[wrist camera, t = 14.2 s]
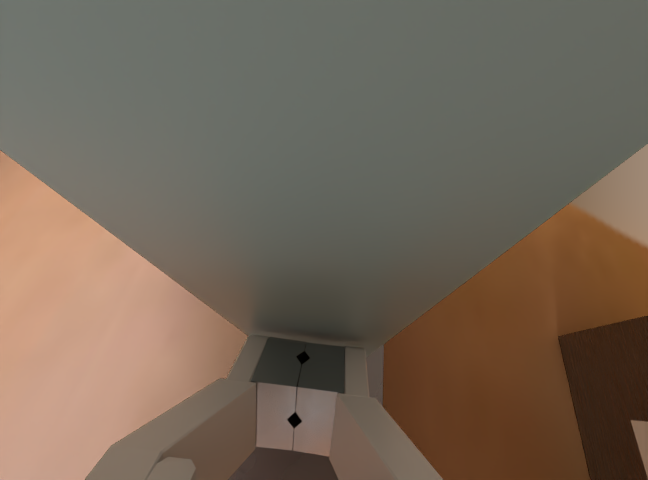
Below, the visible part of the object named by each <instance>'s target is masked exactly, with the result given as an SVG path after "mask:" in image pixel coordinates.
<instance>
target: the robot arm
mask: <svg viewBox="0 0 648 480" xmlns="http://www.w3.org/2000/svg"><path fill="white" fill-rule="evenodd" d="M255 447H264V448H274V449H283V450H292V448H293V451H298V452H304V453H310V454H316V455H322V456H328V457H329V459H330V462H331V464H332V466H333V468H334V471H335V473H336V475H337V477H338V480H443V479H442V477H441V476H440V475H439V474H438V473H437V471H436V470H435V469H434V468H433V467H432V465H431V464H430V463H429V462H428V461H427V459H426V458H425V457H424V456H423V455H422V453H421V452H420V451H419V450H418V448H417V447H416V446H415V445H414V444H413V442H412V441H411V440H410V439H409V438H408V436H407V435H406V434H405V433H404V432H403V430H402V429H401V428H400V427H399V426H398V424H397V423H396V422H395V421H394V420H393V418H392V417H391V416H390V415H389V414H388V412H387V411H386V410H385V409H384V408H383V406H382V405H381V404H380V403H379V402H378V400H377V399H376V398H371V397H369V386H368V375H367V363H366V352H365V349H364V348H363V347H352V346H345V347H344V346H335V345H327V344H318V343H309V342H304V341H297V340H290V339H283V338H276V337H268V336H260V335H253V334H251V335H250V336H248V337H247V339H246V341H245V343H244V345H243V347H242V349H241V351H240V353H239V355H238V356H237V358H236V360H235V362H234V364H233V366H232V368H231V370H230V372H229V374H228V376H227V378H226V379H221V378H220V379H218V380H216V381H215V382H213V383H211V384H210V385H208V386H207V387H205V388H203V389H202V390H200V391H199V392H197V393H195V394H194V395H192V396H190V397H189V398H187V399H186V400H184V401H182V402H181V403H179V404H178V405H176V406H174V407H173V408H171V409H170V410H168V411H166V412H165V413H163V414H161V415H160V416H158V417H157V418H155V419H153V420H152V421H150V422H149V423H147V424H145V425H144V426H142V427H140V428H139V429H137V430H136V431H134V432H132V433H131V434H129V435H128V436H126V437H124V438H123V439H121V440H120V441H118V442H116V443H115V444H113V445H111V446H110V448H109V449H108V450H107V452H106V453H105V454H104V455H103V457H102V458H101V459H100V461H99V462H98V463H97V464H96V466H95V467H94V468H93V469H92V471H91V472H90V473H89V475H88V476H87V477H86V478H85V480H228V479H229V477H230V476H231V475H232V474H233V473H234V472H235V471H236V470H237V469H238V468H239V466H240V465H241V464H242V463H243V462H244V461H245V460H246V459H247V458H248V457H249V455H250V454H251V453H252V452H253V451H254V450H255Z"/></svg>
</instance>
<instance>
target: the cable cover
mask: <svg viewBox="0 0 648 480" xmlns="http://www.w3.org/2000/svg"><path fill="white" fill-rule="evenodd" d="M646 144H648V0H0V150H1V151H2V152H4V153H5V154H6V155H8V156H9V157H10V158H12V159H13V160H14V161H16V162H17V163H18V164H20V165H21V166H22V167H24V168H25V169H26V170H28V171H29V172H30V173H32V174H33V175H34V176H36V177H37V178H38V179H40V180H41V181H42V182H44V183H45V184H46V185H48V186H49V187H50V188H52V189H53V190H54V191H56V192H57V193H58V194H60V195H61V196H62V197H64V198H65V199H66V200H68V201H69V202H70V203H72V204H73V205H74V206H76V207H77V208H78V209H80V210H81V211H82V212H84V213H85V214H86V215H88V216H89V217H90V218H92V219H93V220H94V221H96V222H97V223H98V224H100V225H101V226H102V227H104V228H105V229H106V230H108V231H109V232H110V233H112V234H113V235H114V236H116V237H117V238H118V239H120V240H121V241H122V242H124V243H125V244H126V245H128V246H129V247H130V248H132V249H133V250H134V251H136V252H137V253H138V254H140V255H141V256H142V257H144V258H145V259H146V260H148V261H149V262H150V263H152V264H153V265H154V266H156V267H157V268H158V269H160V270H161V271H162V272H164V273H165V274H166V275H168V276H169V277H170V278H172V279H173V280H174V281H176V282H177V283H178V284H180V285H181V286H182V287H184V288H185V289H186V290H188V291H189V292H190V293H192V294H193V295H194V296H196V297H197V298H198V299H200V300H201V301H202V302H204V303H205V304H206V305H208V306H209V307H210V308H212V309H213V310H214V311H216V312H217V313H218V314H220V315H221V316H222V317H224V318H225V319H226V320H228V321H229V322H230V323H232V324H233V325H234V326H236V327H237V328H238V329H240V330H241V331H242V332H244V333H245V334H246V335H248V336H250V335H251V334H253V335H260V336H268V337H276V338H283V339H290V340H297V341H304V342H309V343H318V344H327V345H335V346H344V347H345V346H352V347H363V348H364V349H365V352H366V357H368V356H369V355H370V354H372V353H373V352H374V351H376V350H377V349H378V348H380V347H381V346H382V345H384V344H385V343H386V342H387V341H389V340H390V339H391V338H393V337H394V336H395V335H397V334H398V333H399V332H401V331H402V330H403V329H405V328H406V327H407V326H409V325H410V324H411V323H412V322H414V321H415V320H416V319H418V318H419V317H420V316H422V315H423V314H424V313H426V312H427V311H428V310H430V309H431V308H432V307H433V306H435V305H436V304H437V303H439V302H440V301H441V300H443V299H444V298H445V297H447V296H448V295H449V294H451V293H452V292H453V291H455V290H456V289H457V288H458V287H460V286H461V285H462V284H464V283H465V282H466V281H468V280H469V279H470V278H472V277H473V276H474V275H476V274H477V273H478V272H479V271H481V270H482V269H483V268H485V267H486V266H487V265H489V264H490V263H491V262H493V261H494V260H495V259H497V258H498V257H499V256H501V255H502V254H503V253H504V252H506V251H507V250H508V249H510V248H511V247H512V246H514V245H515V244H516V243H518V242H519V241H520V240H522V239H523V238H524V237H526V236H527V235H528V234H529V233H531V232H532V231H533V230H535V229H536V228H537V227H539V226H540V225H541V224H543V223H544V222H545V221H547V220H548V219H549V218H550V217H552V216H553V215H554V214H556V213H557V212H558V211H560V210H561V209H562V208H564V207H565V206H566V205H568V204H569V203H570V202H572V201H573V200H574V199H575V198H577V197H578V196H579V195H581V194H582V193H583V192H585V191H586V190H587V189H589V188H590V187H591V186H593V185H594V184H595V183H596V182H598V181H599V180H600V179H601V178H603V177H604V176H606V175H607V174H608V173H609V172H611V171H612V170H614V169H615V168H616V167H618V166H619V165H620V164H621V163H623V162H624V161H625V160H627V159H628V158H629V157H631V156H632V155H633V154H635V153H636V152H637V151H639V150H640V149H641V148H643V147H644V146H645V145H646Z"/></svg>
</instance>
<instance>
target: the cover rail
mask: <svg viewBox="0 0 648 480" xmlns="http://www.w3.org/2000/svg"><path fill="white" fill-rule="evenodd" d="M366 363H367V375H368V386H369V397H371V398H376V399H377V400H378V402H379V403H380V404H381V405H382V406H383V363H384V345H382V346H381V347H380V348H378V349H377V350H376V351H374V352H373V353H372V354H370V355H369V356H368V357H366ZM228 480H338V477H337V475H336V473H335V471H334V468H333V466H332V464H331V462H330V459H329V457H328V456H322V455H316V454H310V453H304V452H298V451H293V448H292V450H283V449H274V448H264V447H255V450H254V451H253V452H252V453H251V454H250V455H249V457H248V458H247V459H246V460H245V461H244V462H243V463H242V464H241V465H240V466H239V468H238V469H237V470H236V471H235V472H234V473H233V474H232V475H231V476H230V477H229V479H228Z"/></svg>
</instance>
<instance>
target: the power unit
mask: <svg viewBox="0 0 648 480" xmlns="http://www.w3.org/2000/svg"><path fill="white" fill-rule="evenodd" d="M558 337H559V341H560V346H561V350H562V355H563V359H564V363H565V368H566V372H567V377H568V381H569V385H570V390H571V394H572V399H573V403H574V407H575V412H576V416H577V421H578V425H579V429H580V434H581V438H582V443H583V447H584V451H585V456H586V460H587V465H588V469H589V473H590V478H591V480H648V316H644V317H640V318H635V319H631V320H627V321H622V322H618V323H614V324H610V325H605V326H601V327H597V328H592V329H588V330H584V331H579V332H575V333H571V334H566V335H562V336H558Z"/></svg>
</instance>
